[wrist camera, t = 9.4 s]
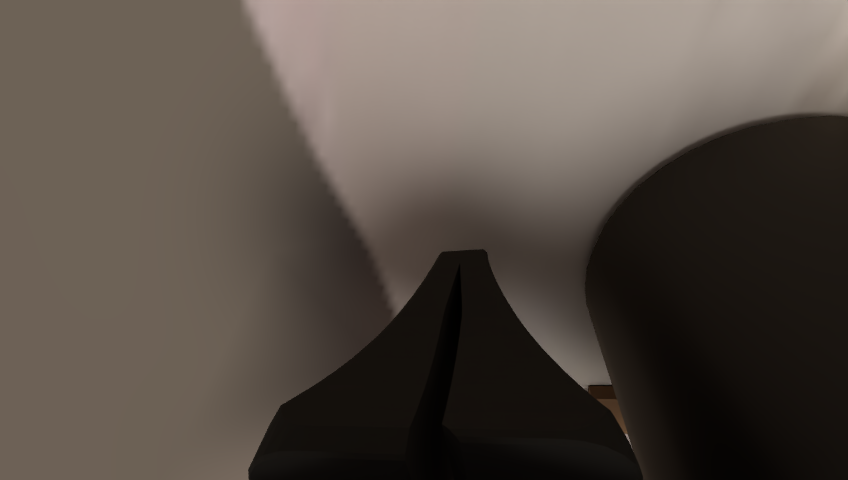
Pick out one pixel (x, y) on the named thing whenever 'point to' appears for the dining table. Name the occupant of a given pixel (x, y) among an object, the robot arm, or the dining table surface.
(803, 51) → the dining table surface
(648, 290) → the mug
